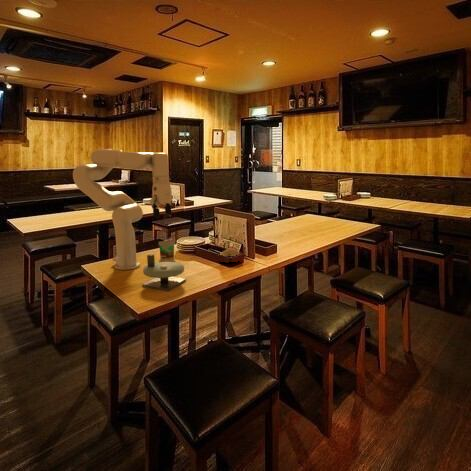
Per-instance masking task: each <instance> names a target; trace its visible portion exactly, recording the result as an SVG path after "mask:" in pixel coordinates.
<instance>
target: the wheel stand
mask: <svg viewBox="0 0 471 471" xmlns="http://www.w3.org/2000/svg"><path fill="white" fill-rule="evenodd" d="M186 281H187V279H186V278H185V277H184V278H183V277H178V276H173V277H167V278H153V277H152V279H149V280H148V281H146V282H144V283H143V284H141V285H142V286H141V287H144V288H150V289H155V290H160V291H165V292H170V291H171V290H173V289H175V288H177V287H179V286H181V285H182V284H183V283H185V282H186Z"/></svg>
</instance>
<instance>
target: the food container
mask: <svg viewBox="0 0 471 471" xmlns="http://www.w3.org/2000/svg"><path fill="white" fill-rule="evenodd" d="M175 243H176V239H175V238H174V237H173V236H172V237H171V236H169V238H167V239H164V240H162V241H158V246H159V248H158V249H159V255H160V259H171V258H173V257H174V255H175Z"/></svg>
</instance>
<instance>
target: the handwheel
mask: <svg viewBox="0 0 471 471" xmlns="http://www.w3.org/2000/svg"><path fill="white" fill-rule="evenodd" d="M146 258H147V259H146V261H147V265H145V266H144V267H143V269H142V270H143V272H142V273H143V275H144V276H146V277H149V278H152V279H153V278H167V277H178V276H180V275H181V274H183V273H184V272H185V266H184V265H183V264H182V263H179V262H174V261H160V262H159V261H158V262H155V254H152V253H151V254H147V255H146Z"/></svg>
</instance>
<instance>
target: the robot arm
mask: <svg viewBox="0 0 471 471" xmlns="http://www.w3.org/2000/svg"><path fill="white" fill-rule="evenodd" d="M90 161H91V162H92V163H85V164H80V165H77V166H75V168H74V169H73V170H72V179H73V181H74V184H75V185H76V187H77V188H78V189H79V191H81V192H82V193H84V194H85V195H86V196H87V197H89V198H90V199H91V200H92V201H93V202H94V203H95V204H96V205H98V206H99V208H101V209H102V210H104V211H106V212H112V213H111V220H112V223H113V227H114V235H115V244H116V245H115V246H116V256H114V257H113V258H112V262H115V264H114V269H116V270H120V271H128V270H135V269H137V268H139V267H140V266H141V262H140V261H137V260H138V259H137V247H136V233H135V228H134V226H133V224H132V223H135V222H138V221H140V220H141V219H142V218H143V214H144V212H143V209H142V207H141V206H140V205H139V203H137V202H136V201H135V200H134V199H132V198H131V197H130V196H128V195H127V194H126V193H124V192H123V191H119V190H116V191H110V190H108V189H107V188H105V187H104V186H103V185H101V183H99V182H97V181H99V180H102V179H104V178H105V177H106V176H107V175H108V174H109V173H110V172H111V171H112V170H113V169H114V168H116V169H117V168H118V169H127V170H128V169H129V170H143V169H146V170H147V169H151V170H152V171H151V172H152V187H151V189H152V190H151V191H152V193H151V196H152V198H150V199H149V203H150V206H151V208H152V212H153V214H152V216H153V217H154V218H160V208H159V207H160V205H165V206H164V210H165V211H164V212H165V214H166V215H171V214H172V206H173V204H172V203H173V198H174V196H173V194H172V193H173V192H172V186H171V182H170V172H169V170H170V169H169V155H168V154H167V153H165V152H147V151H146V152H143V151H141V152H130V151H128V152H127V151H124V150H122V149H111V148H97V149H95V150H93V151H92V152H91V154H90Z"/></svg>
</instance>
